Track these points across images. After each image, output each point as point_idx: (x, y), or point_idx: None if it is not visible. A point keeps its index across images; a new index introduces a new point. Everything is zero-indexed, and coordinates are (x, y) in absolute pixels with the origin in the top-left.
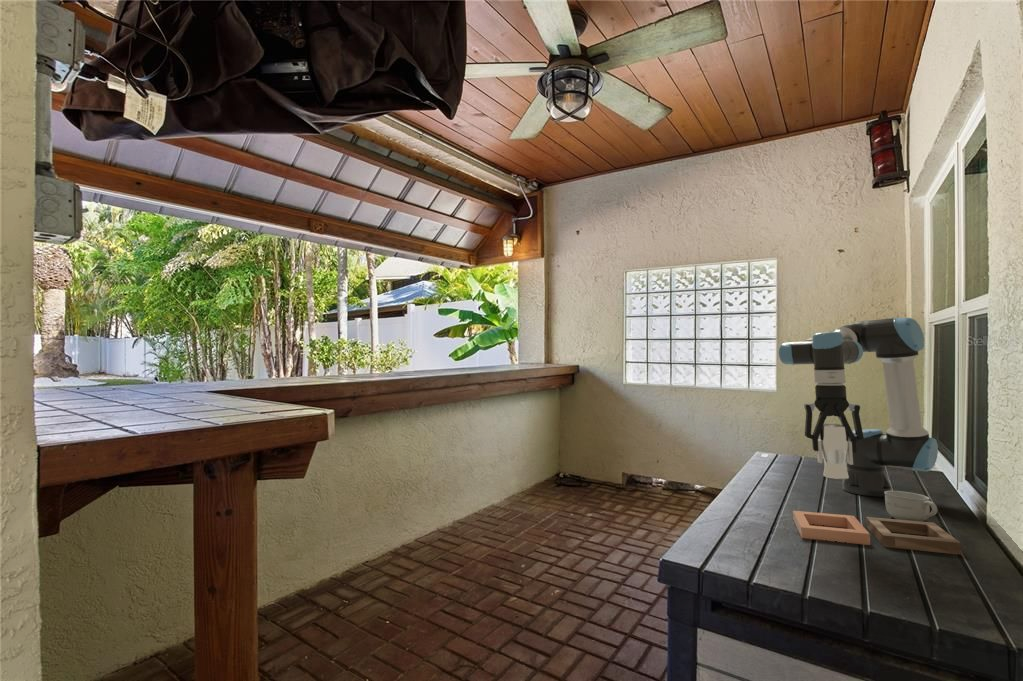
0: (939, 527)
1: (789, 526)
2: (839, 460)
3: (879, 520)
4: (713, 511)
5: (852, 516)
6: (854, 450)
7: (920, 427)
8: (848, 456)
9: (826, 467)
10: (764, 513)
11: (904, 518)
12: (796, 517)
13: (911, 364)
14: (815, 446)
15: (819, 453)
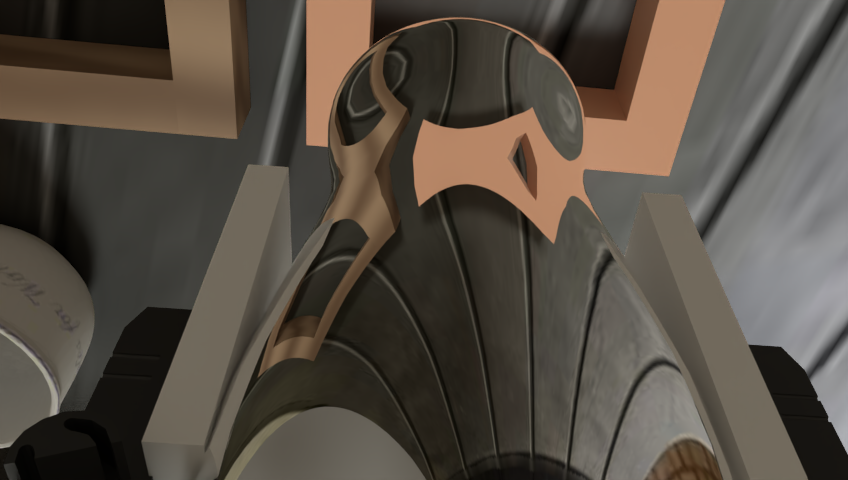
0: None
1: (737, 11)
2: (444, 144)
3: (169, 79)
4: None
5: (318, 128)
6: (153, 335)
7: None
8: (271, 287)
9: (580, 167)
10: (777, 233)
11: (23, 232)
12: (716, 21)
13: None
14: (790, 410)
15: (715, 291)
